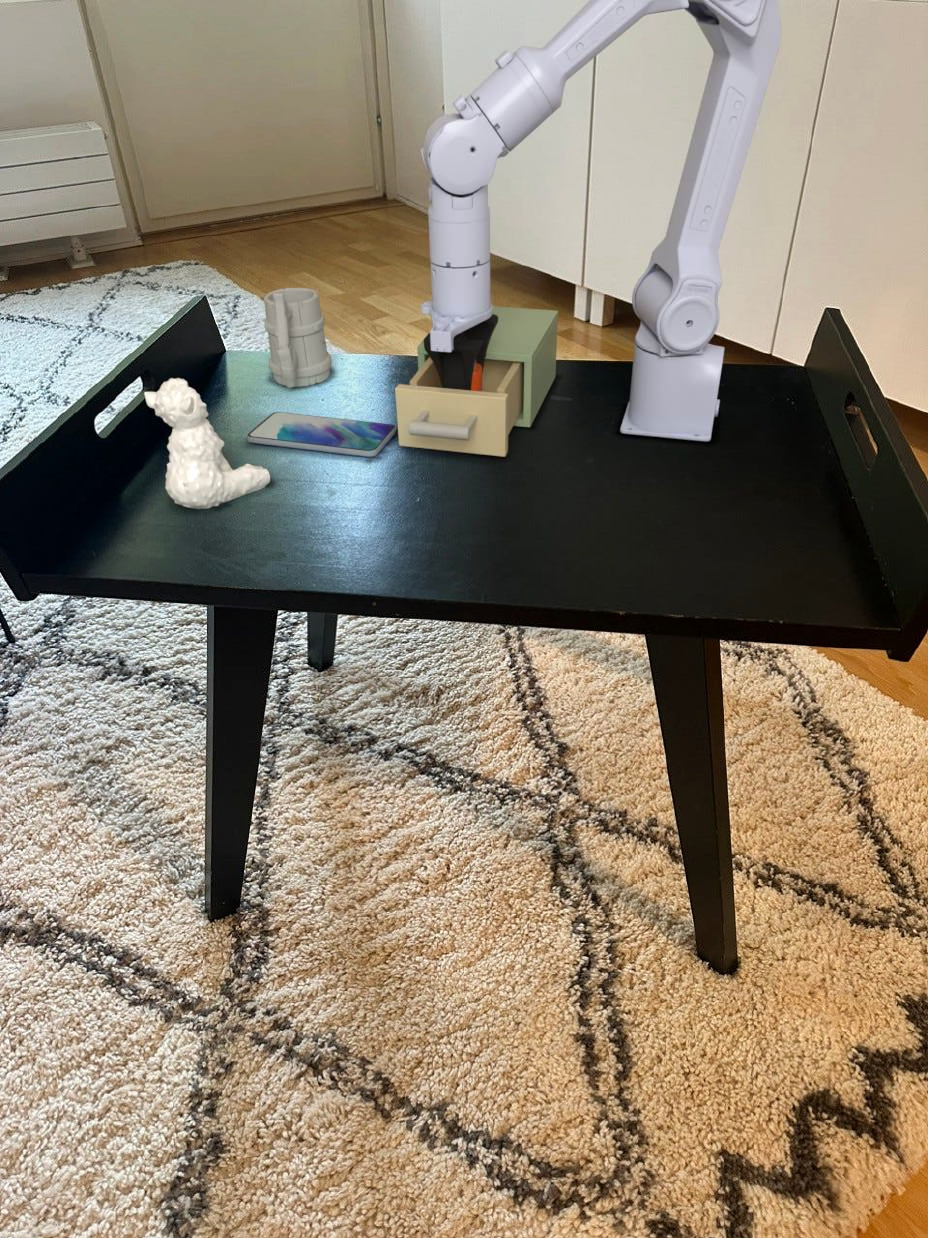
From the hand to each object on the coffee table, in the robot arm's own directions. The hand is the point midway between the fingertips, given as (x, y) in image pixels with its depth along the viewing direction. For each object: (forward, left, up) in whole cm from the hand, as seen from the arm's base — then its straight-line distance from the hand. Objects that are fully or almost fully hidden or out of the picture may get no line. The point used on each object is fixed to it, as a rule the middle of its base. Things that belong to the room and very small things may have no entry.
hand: (463, 395), depth 93 cm
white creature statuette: (+21, +18, -5) cm, 28 cm away
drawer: (0, 0, -4) cm, 4 cm away
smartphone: (+15, +4, -5) cm, 16 cm away
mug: (+24, -10, -5) cm, 27 cm away
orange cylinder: (0, 0, -1) cm, 1 cm away
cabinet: (0, -11, -5) cm, 13 cm away
